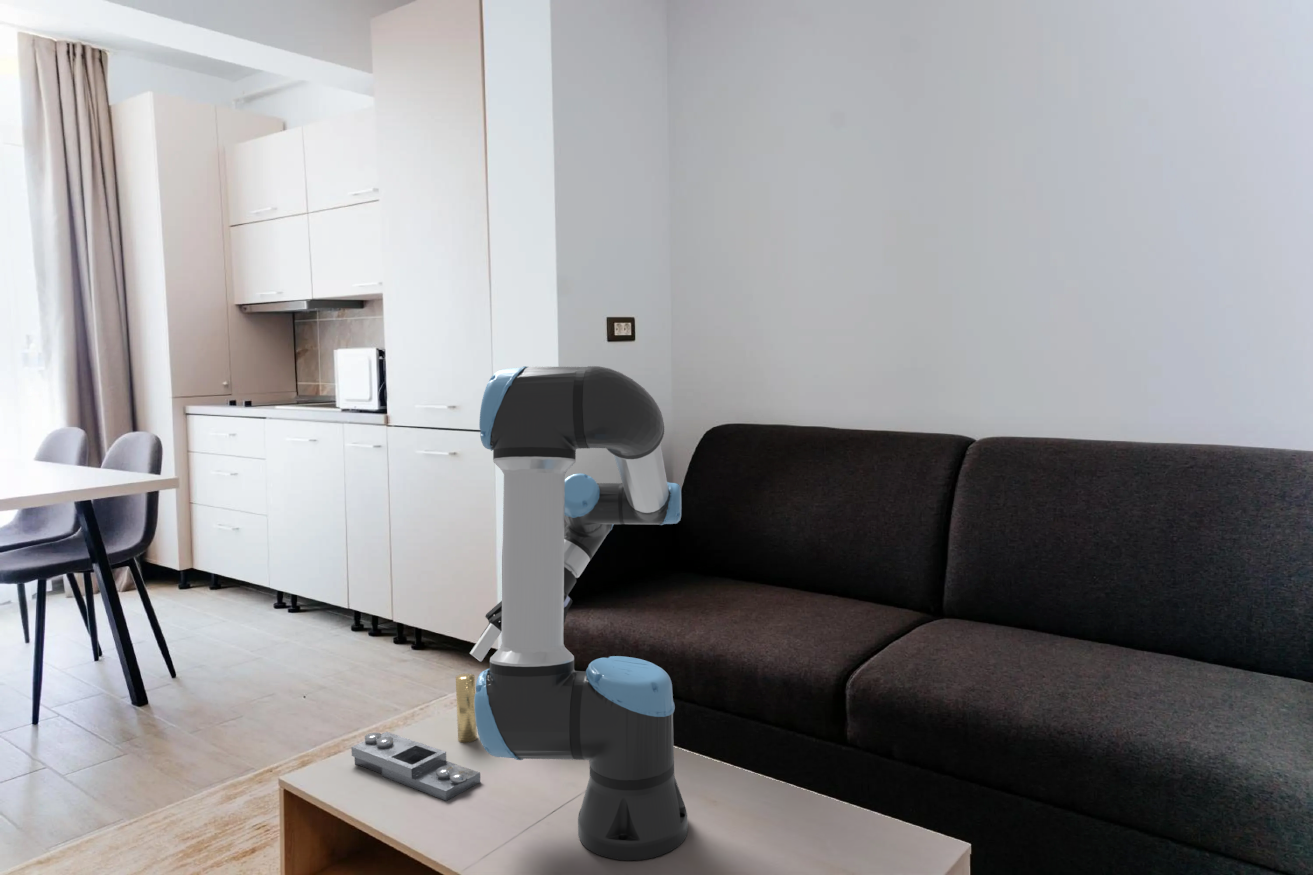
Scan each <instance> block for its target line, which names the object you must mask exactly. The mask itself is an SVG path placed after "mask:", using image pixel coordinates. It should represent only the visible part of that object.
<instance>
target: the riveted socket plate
mask: <svg viewBox="0 0 1313 875" xmlns="http://www.w3.org/2000/svg"><path fill="white" fill-rule="evenodd" d="M350 750H351V757H353V758H354V764H355V765H357V766H360V767H362V768H365V769H367V770H371V771H373V772H376V773H378V774H381V776H382V778H385V779H388V780H390V781H393V782H396V783H399V784H401V785H404V786H407V787H409V788H411V789H413V790H416V791H420V792H422V793H425V794H427V795H430V796H432V797H434V798H437V799H440V800H442V801H445V802H447V801H448V800H450V799H453V798H454V797H456V796H457V795H459V794H461V793H463V792H465V791H467V790H468V789H470V788H472V787H474V786H476V785H477V784H480V783H481V772H479V771H476V770H474V769H471V768H468V767H465V766H462V765H459V764H456V763H453V762H450V761H448V760H447V751H445V750H442V749H438V748H435V747H433V746H430V745H427V744H425V743H421V742H418V741H416V740H413V739H410V738H407V737H404V736H402V735H398V734H395V733H392V732H388V731H385V732H382V733H380V732H371V733H367V734H366V735H365V736H364V741H361V742H358V743H357V744H355V745H352V746H351V748H350Z"/></svg>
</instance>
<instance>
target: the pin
mask: <svg viewBox="0 0 1313 875" xmlns="http://www.w3.org/2000/svg"><path fill="white" fill-rule="evenodd" d="M475 676H476V675H475V674H474V673H461V674H458V675H456V676H455V694H456V696H455V698H456V699H455V700H456V718H457V719H456V721H457V723H456V724H457V741H458V742H460V743H463V744H464V743H472V742H474V741H476V740H477V739H478V731H477V726H476V719H475V706H474V699H475V694H476V677H475Z"/></svg>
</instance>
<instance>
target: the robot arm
mask: <svg viewBox="0 0 1313 875" xmlns="http://www.w3.org/2000/svg"><path fill="white" fill-rule="evenodd" d="M479 430H480V442H481V443H482V446H483V447H484V448H485V449H487V450H490V451H492V452H493V453H492V455H493V456H492V460H493V463H494V464H495V465H496V466H497V467H498V468H499V469H500V470H501V472H502V473H503V498H502V499H503V500H502V501H503V502H502V503H503V504H502V505H503V508H502V509H503V510H502V511H503V512H502V513H503V514H502V564H501V565H502V568H501V569H502V574H501V575H502V577H501V579H502V580H501V581H502V582H501V584H502V585H501V601H500V602H498V603H497V604H496V605H495V606H494V607H493V608H491V609H490V610H489V611H488V612H487V613H486V614H485V616H484V617H485V619H487V621H488V624H487V626H486V627H485V629H484V630H483V632H482V633H481V634H480V637H479V639H478V641H477V642H476V643H475V644H474V646H473V647H472V649H471V651H470V652H469V654H470V655H471V656H472V657H474V658H475V659H477V660H478V661H479V662H482V661H483V660H484V658H485V657H486V656H487V654H488V652H489V650H490V649H492V646H493V645H494V643H495V642H496V641H497V639H498V638H499V636H500V635H501V636H500V637H501V641H500V646H499V648H498V649H497V650H496V651H495V652H494V654H493V655H491V656H490V658H489V668H486V669H485V670H482V671H481V672H480V673H479V675H478V677H477V679H476V682H475V699H474V706H475V719H476V726H477V736H478V737H479V738H478V739H479V741H480V743H481V745H482V747H483V749H484V750H485V751H486V752H487V753H488V754H489V755H490V756H492V757H496V758H506V759H514V760H517V761H523V760H538V759H539V760H570V761H571V760H574V761H576V760H577V761H578V760H579V761H588V762H589V763H588V764H589V779H588V783H587V786H586V790H585V793H584V796H583V800H582V803H581V808H580V810H579V812H578V817H577V833H578V834H577V835H578V838H579V841H580V842H581V844H582V845H583V846H584V847H585V848H586V849H587V850H589V851H590V852H592V853H594V854H596V855H598V856H602V857H605V858H607V859H612V860H620V861H639V860H641V861H642V860H646V859H653V858H656V857H659V856H662V855H665V854H668V853H670V852H672V851H673V850H675V849H676V848H678V847H679V846H681V844H682V843H683V842H684V841H685V839H686V838H687V835H688V833H689V832H688V830H689V828H688V812H687V808H686V805H685V802H684V800H683V797H682V794H681V791H680V788H679V784H678V783H677V779H676V776H675V755H674V754H675V753H674V752H675V747H674V745H675V743H674V712H675V708H676V706H675V702H674V698H673V696H674V694H673V684H672V683H673V682H672V680H671V677H670V675H669V674H668V673H667V672H666V671H665V670H664V669H663V668H662V667H660V666H658V665H657V664H655V663H653V662H650V661H648V660H644V659H641V658H636V657H631V656H630V657H629V656H621V655H616V656H615V655H612V656H608V657H600V658H596V659H594V660H592V661H591V662H590V663H589V664H588V667H587V668H586V670H585V671H583V670H575V656H574V655H573V654H572V652H570V650H568V649H567V648H566V647H565V646H566V645H565V644H564V627H565V622H566V620H567V619H566V618H567V616H568V615H567V614H568V611H569V609H570V607H571V605H572V604H573V600H572V598H571V597H570V596H569V594H570V592H571V591H572V589H573V588H574V586H575V584H576V583H577V579H578V578H580V576H581V575H582V574H583V572H584V571H585V569H586V567H587V565H588V564H589V562H590V561H591V560H592V558H593V557H594V555H595V554H596V552H597V551H598V549H599V548H600V546H601V545H602V543H603V542H604V540H605V539H606V537H607V535H608V534H609V533H610V532H611V531H612V530H613V527H614V525H659V526H663V525H673V524H675V525H676V524H678V523H680V521H681V518H682V488H681V485H680V484H679V483H676V482H669V481H668V478H667V475H666V474H667V473H666V469H665V468H666V467H665V462H664V457H663V456H664V455H663V451H662V445H661V444H662V442H663V439H664V435H665V423H664V417H663V413H662V411H661V408H660V407H659V405H658V403H657V401H656V400H655V399H654V398H653V396H652V395H651V394H650V393H649V392H648V391H647V390H646V389H645V388H644V387H643V386H642V385H640V384H639V382H637V381H635V380H634V379H633V378H631V377H629V376H628V375H626V374H624V373H623V372H620V371H617V370H614V369H612V368H609V367H604V366H600V365H599V366H597V365H596V366H595V365H592V366H591V365H590V366H589V365H588V366H521V367H513V368H502V369H499V370H497V371H496V372H495V373H493V375H492V376H490V379H489V381H488V382H487V384H486V386H485V389H484V391H483V396H482V399H481V405H480V412H479ZM577 449H578V450H581V449H606V450H607V451H608V452H609V453H610V454H611V455H612V456H613V458H614V461H615V464H616V467H617V470H618V473H619V476H620V480H621V482H597V481H596V479H594V478H593V477H592V476H590V475H588V474H585V473H574V474H571V475H569V476H567V477H566V476H565V475H566V474H567V471H568V470H570V468H572V466H573V465H575V463H576V460H577V459H576V457H577V456H576V453H577V452H576V450H577ZM565 523H566V526H565ZM477 660H476V661H477Z"/></svg>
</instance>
